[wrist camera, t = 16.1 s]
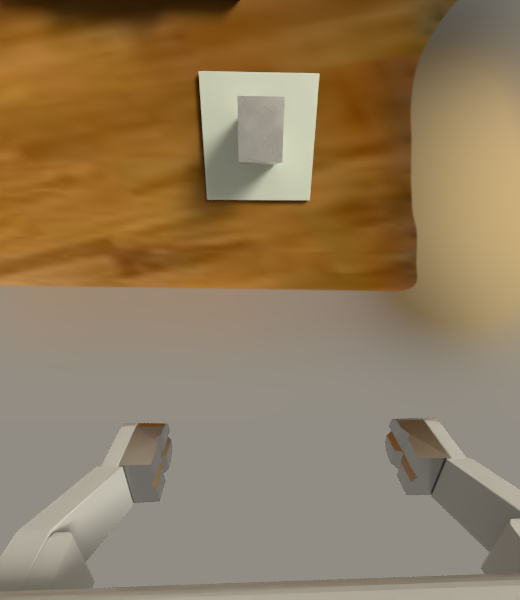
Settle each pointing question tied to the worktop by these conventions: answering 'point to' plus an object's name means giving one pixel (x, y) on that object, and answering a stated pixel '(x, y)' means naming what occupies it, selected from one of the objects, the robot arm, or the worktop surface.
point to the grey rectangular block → (260, 129)
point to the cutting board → (224, 135)
